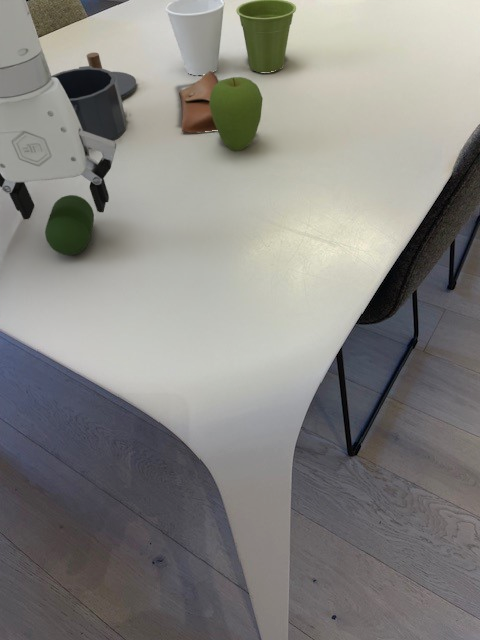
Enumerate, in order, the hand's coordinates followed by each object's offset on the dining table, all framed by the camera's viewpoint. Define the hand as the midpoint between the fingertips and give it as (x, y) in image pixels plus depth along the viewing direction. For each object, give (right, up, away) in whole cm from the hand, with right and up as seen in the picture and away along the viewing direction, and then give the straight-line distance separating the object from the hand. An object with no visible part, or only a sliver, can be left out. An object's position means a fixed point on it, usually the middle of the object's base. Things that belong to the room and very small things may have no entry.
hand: (66, 209), depth 65 cm
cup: (+15, +40, +43) cm, 60 cm away
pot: (-5, +21, +26) cm, 34 cm away
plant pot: (+29, +40, +41) cm, 64 cm away
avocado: (0, -3, +4) cm, 5 cm away
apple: (+23, +15, +19) cm, 33 cm away
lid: (-6, +34, +37) cm, 51 cm away
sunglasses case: (+16, +25, +29) cm, 41 cm away
